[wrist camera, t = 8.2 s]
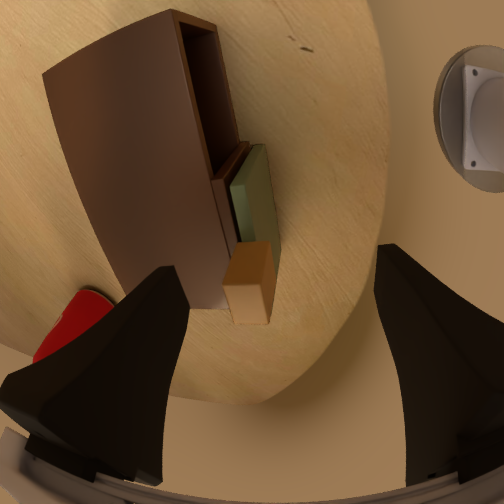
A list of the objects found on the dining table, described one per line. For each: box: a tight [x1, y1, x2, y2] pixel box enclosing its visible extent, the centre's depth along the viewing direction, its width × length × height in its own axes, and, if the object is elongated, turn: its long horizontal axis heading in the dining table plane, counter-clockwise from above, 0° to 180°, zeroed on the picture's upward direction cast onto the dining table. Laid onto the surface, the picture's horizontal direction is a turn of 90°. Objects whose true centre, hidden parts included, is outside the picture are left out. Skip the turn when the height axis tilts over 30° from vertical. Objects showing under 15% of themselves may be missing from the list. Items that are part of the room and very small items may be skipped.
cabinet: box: [42, 9, 251, 309], centre depth 16 cm, size 9×16×7 cm, turn 10°
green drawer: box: [222, 144, 281, 324], centre depth 16 cm, size 2×8×10 cm, turn 10°
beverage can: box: [32, 290, 115, 364], centre depth 26 cm, size 6×6×12 cm
